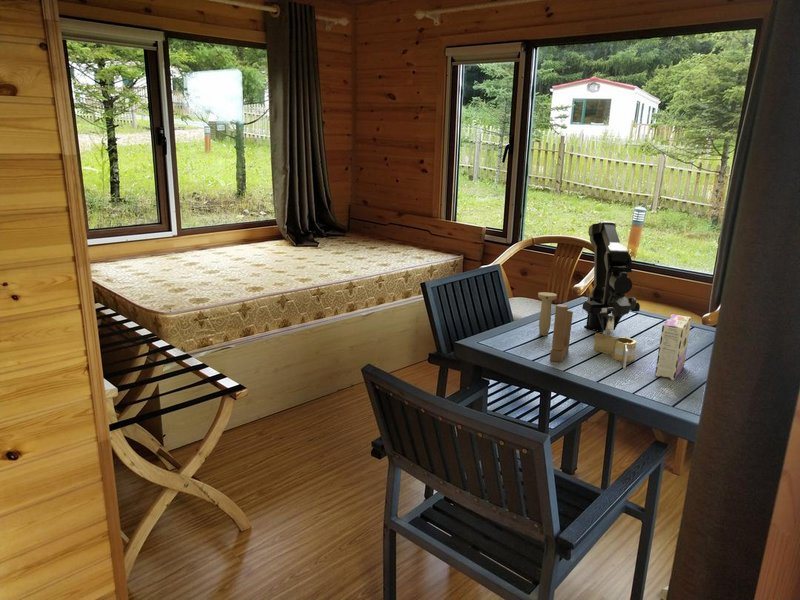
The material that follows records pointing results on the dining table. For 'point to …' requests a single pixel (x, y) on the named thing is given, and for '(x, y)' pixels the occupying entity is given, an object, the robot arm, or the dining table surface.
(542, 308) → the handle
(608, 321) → the pin
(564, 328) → the wooden block
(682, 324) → the candy box
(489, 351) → the dining table surface
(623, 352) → the hinge
